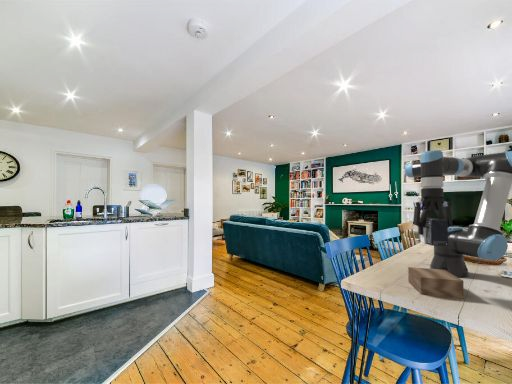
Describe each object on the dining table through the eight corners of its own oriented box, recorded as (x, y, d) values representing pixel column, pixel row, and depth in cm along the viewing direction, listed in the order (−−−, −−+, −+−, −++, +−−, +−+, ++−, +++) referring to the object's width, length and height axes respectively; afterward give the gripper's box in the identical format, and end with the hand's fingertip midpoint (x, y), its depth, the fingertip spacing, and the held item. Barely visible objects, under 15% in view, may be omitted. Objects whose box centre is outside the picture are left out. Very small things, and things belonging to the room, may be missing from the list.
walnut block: (445, 285, 102) (444, 269, 102) (463, 299, 88) (463, 280, 88) (408, 282, 105) (408, 267, 106) (421, 295, 92) (420, 277, 92)
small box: (449, 246, 91) (448, 219, 92) (431, 246, 93) (430, 219, 93) (434, 241, 102) (433, 217, 102) (418, 241, 103) (417, 217, 103)
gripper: (450, 188, 100) (451, 241, 100) (402, 188, 103) (403, 240, 102) (464, 187, 93) (465, 245, 92) (411, 187, 95) (412, 244, 95)
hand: (432, 242), depth 97 cm, fingers closed on small box, 7 cm apart
